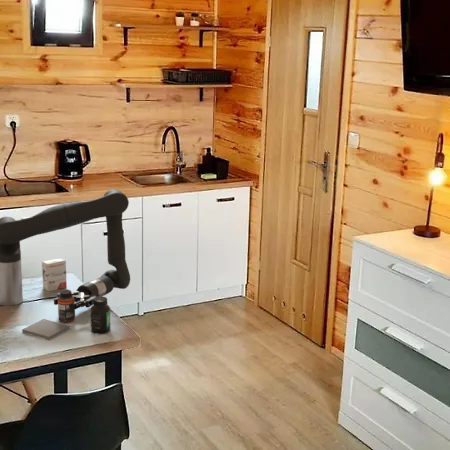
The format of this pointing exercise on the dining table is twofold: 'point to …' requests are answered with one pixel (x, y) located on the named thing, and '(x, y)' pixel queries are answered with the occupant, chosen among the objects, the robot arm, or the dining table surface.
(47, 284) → the ink box
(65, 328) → the slate tile
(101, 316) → the supplement bottle
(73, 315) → the supplement bottle
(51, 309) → the dining table surface
